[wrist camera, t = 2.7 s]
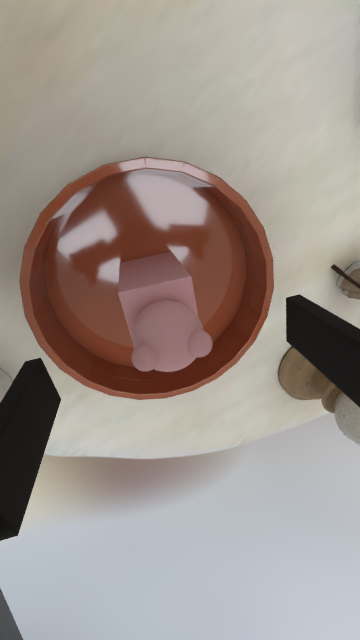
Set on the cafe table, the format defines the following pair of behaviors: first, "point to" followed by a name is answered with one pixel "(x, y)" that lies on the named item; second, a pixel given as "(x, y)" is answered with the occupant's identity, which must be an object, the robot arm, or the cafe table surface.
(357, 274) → the toy
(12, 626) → the robot arm
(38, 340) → the bowl
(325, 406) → the candle holder
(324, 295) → the cafe table surface
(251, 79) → the cafe table surface
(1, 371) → the cup
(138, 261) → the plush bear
